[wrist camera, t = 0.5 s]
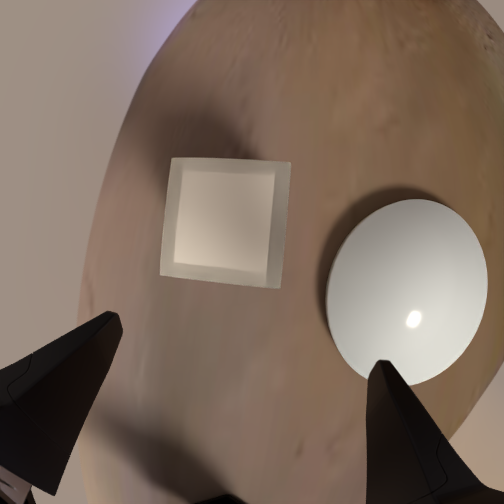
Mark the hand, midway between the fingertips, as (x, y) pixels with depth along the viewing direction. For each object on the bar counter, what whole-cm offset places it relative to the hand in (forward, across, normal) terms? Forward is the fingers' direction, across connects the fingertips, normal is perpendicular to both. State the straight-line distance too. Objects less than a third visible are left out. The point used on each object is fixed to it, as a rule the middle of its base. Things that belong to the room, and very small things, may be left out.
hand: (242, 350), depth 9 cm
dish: (+13, -13, +6) cm, 19 cm away
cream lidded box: (+15, +2, +3) cm, 15 cm away
